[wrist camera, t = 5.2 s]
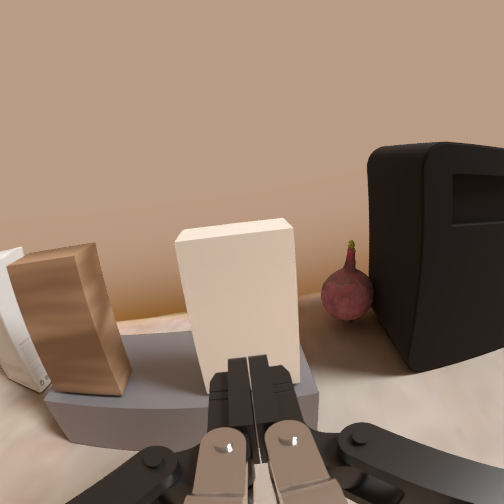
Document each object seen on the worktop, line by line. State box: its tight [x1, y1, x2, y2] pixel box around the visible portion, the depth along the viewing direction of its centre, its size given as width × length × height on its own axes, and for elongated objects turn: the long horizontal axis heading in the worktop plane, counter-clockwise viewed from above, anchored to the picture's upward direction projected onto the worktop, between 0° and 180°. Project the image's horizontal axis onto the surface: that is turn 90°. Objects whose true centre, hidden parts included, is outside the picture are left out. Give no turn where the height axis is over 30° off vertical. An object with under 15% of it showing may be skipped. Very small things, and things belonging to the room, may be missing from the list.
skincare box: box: [0, 247, 51, 393], centre depth 24 cm, size 8×6×15 cm
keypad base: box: [43, 331, 319, 452], centre depth 22 cm, size 10×20×5 cm, turn 94°
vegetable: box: [321, 240, 375, 322], centre depth 32 cm, size 6×6×10 cm
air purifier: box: [367, 142, 504, 372], centre depth 26 cm, size 20×15×20 cm
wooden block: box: [174, 218, 300, 394], centre depth 18 cm, size 3×6×10 cm, turn 94°
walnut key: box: [6, 243, 132, 395], centre depth 17 cm, size 3×6×10 cm, turn 94°
